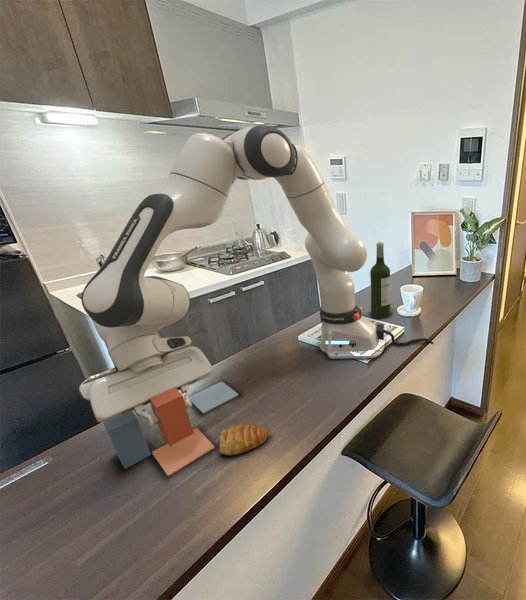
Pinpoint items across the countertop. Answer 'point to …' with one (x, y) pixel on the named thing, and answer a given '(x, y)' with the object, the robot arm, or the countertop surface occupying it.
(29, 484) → the countertop surface
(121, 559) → the countertop surface
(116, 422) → the blue block
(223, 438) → the pastry
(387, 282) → the wine bottle
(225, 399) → the blue mat
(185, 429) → the terracotta block
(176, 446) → the terracotta mat
